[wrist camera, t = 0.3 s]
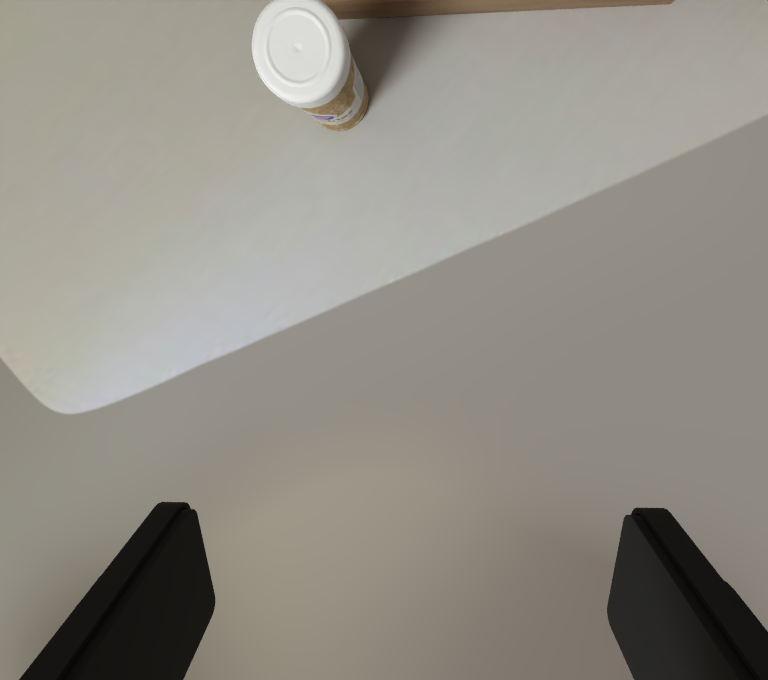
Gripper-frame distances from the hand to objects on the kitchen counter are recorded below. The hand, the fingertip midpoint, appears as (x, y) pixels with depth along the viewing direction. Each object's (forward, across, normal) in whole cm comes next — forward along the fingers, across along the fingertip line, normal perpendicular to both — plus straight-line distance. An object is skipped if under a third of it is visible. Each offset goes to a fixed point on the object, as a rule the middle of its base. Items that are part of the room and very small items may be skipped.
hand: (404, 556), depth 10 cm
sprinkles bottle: (+30, +5, -14) cm, 33 cm away
